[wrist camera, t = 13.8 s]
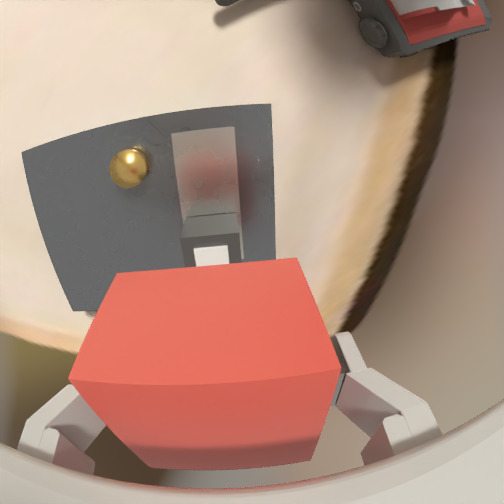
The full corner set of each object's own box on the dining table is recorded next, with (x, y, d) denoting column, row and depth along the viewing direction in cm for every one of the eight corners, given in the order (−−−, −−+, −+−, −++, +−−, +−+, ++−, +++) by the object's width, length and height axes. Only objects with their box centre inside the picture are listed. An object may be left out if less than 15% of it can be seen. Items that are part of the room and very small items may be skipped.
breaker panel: (82, 295, 20) (69, 318, 17) (38, 146, 14) (14, 155, 11) (271, 281, 21) (277, 306, 18) (265, 104, 15) (273, 103, 12)
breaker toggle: (192, 262, 17) (188, 289, 14) (185, 218, 15) (179, 240, 13) (240, 257, 17) (243, 284, 14) (236, 213, 15) (239, 234, 13)
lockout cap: (160, 380, 11) (150, 467, 7) (117, 273, 8) (68, 378, 5) (290, 372, 11) (310, 460, 8) (296, 257, 9) (341, 368, 5)
